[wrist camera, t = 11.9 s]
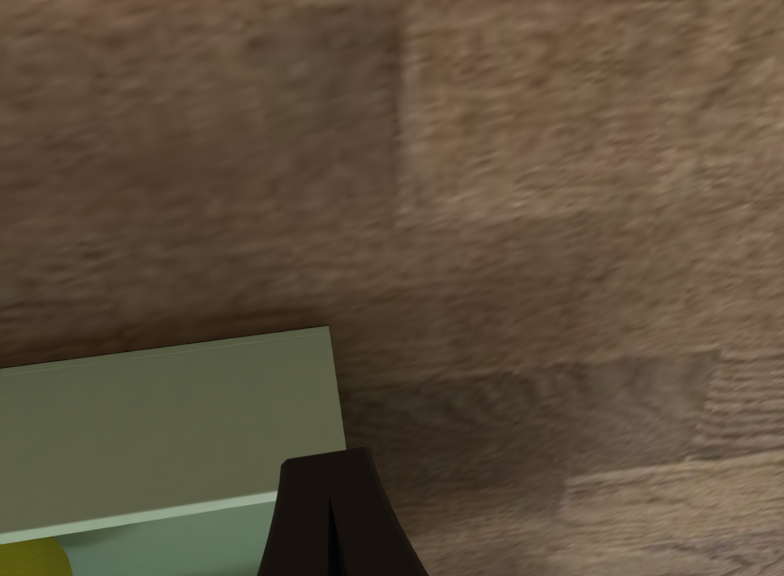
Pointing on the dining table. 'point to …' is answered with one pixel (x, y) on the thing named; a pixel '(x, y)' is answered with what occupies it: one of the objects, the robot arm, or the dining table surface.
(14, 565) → the lemon
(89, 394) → the light green open box
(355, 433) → the dining table surface
